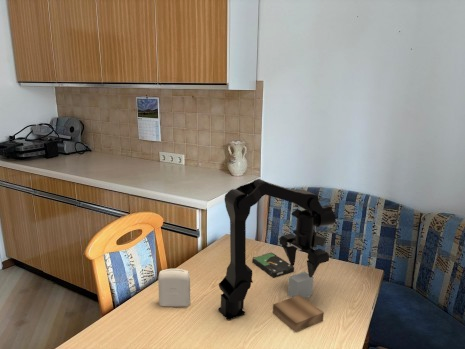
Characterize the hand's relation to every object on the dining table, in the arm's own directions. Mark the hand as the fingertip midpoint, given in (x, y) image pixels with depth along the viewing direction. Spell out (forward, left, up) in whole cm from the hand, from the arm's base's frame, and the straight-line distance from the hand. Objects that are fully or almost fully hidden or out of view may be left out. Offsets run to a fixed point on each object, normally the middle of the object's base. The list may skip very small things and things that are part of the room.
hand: (301, 271), depth 122 cm
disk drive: (+4, +21, -10) cm, 23 cm away
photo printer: (-40, +16, -9) cm, 44 cm away
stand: (-9, -9, -9) cm, 16 cm away
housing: (0, 0, -9) cm, 9 cm away
